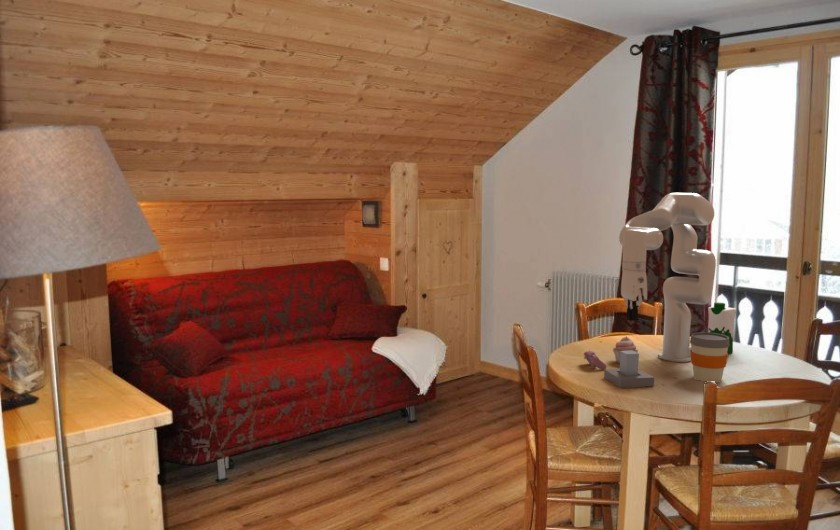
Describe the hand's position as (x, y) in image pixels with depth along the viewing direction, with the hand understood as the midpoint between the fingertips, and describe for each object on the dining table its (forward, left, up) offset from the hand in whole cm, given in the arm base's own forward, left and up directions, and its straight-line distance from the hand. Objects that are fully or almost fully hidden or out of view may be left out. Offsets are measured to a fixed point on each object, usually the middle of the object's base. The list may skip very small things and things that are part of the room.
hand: (632, 320), depth 231 cm
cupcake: (-10, -23, -21) cm, 33 cm away
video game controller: (+4, -19, -22) cm, 29 cm away
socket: (+1, +1, -21) cm, 21 cm away
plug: (+1, +1, -21) cm, 21 cm away
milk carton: (-55, -31, -21) cm, 67 cm away
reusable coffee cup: (-28, +2, -21) cm, 35 cm away
